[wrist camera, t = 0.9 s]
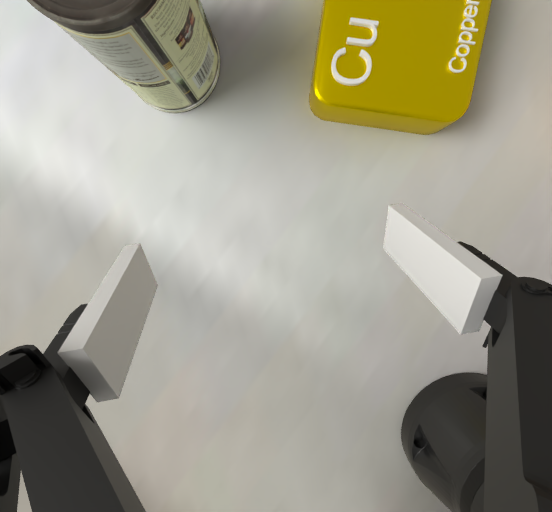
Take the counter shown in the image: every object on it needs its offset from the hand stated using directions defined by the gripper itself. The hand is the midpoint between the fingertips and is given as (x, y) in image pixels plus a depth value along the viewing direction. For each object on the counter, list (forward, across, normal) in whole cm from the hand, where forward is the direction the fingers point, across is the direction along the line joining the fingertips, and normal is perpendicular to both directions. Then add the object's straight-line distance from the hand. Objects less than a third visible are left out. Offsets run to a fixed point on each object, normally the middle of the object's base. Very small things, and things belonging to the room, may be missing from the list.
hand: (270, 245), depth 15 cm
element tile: (+22, -16, -8) cm, 28 cm away
